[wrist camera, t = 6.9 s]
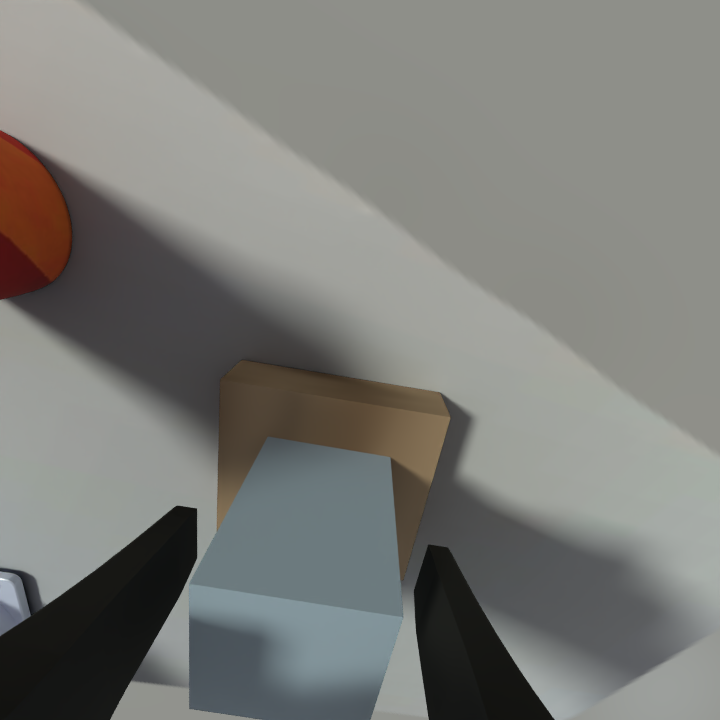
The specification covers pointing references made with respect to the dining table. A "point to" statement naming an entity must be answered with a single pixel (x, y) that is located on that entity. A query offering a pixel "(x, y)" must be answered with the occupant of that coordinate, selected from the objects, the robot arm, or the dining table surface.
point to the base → (332, 430)
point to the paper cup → (30, 222)
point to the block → (298, 589)
